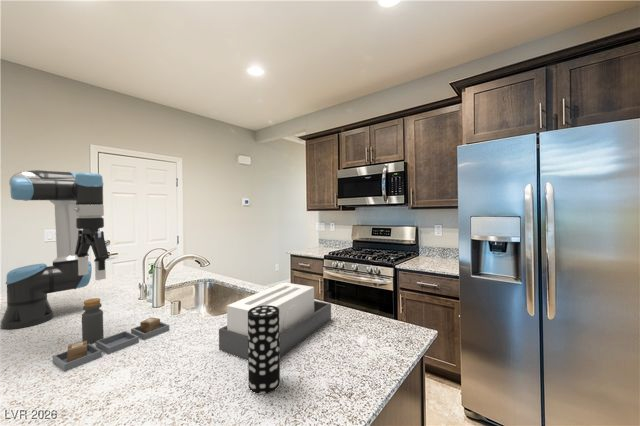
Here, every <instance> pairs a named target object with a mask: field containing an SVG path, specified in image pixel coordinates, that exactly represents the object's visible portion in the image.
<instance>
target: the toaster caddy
mask: <svg viewBox="0 0 640 426" xmlns="http://www.w3.org/2000/svg"><path fill="white" fill-rule="evenodd" d="M331 321H332V303H330V302H329V303H328V302H323V301H317V300H314V313H313V314H311V315H310V316H308V317H306V318H305V319H303V320H302V321H300V322H298V323H297V324H295V325H294V326H292V327H290V328H289V329H287V330H286V331H284V332H282V333H281V334H280V359H282V358H283V357H284V356H286V354H288V353H289V352H290V351H292V350H293V349H295V348H296V347H297V346H298V345H301V343H303V342H304V341H305V340H307V339H308V338H309V337H310V336H312V335H313V334H315V333H316V332H318V331H319V330H320V329H322V328H323V327H324V326H325V325H327V324H328V323H330V322H331ZM218 350H219V351H221V350H222V352H224V351H225V352H224V353H226V352H227V353H226V354H229V353H230V354H229V355H231V354H232V355H231V356H234V355H235V357H237V356H238V357H237V358H239V357H240V358H239V359H242V358H243V359H242V360H244V359H246V360H245V361H247V360H248V337H247V336H244V335H241V334H238V333H235V332H232V331H229V330H227V325H225V326H223V327H221V328H219V329H218Z"/></svg>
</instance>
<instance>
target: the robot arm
mask: <svg viewBox="0 0 640 426" xmlns="http://www.w3.org/2000/svg"><path fill="white" fill-rule="evenodd" d="M103 181H104V179H103V176H102V174H100V173H94V172H93V173H92V172H72V171H55V170H42V169H41V170H40V169H38V170H37V169H35V170H33V169H31V170H26V171H25V170H24V171H20V172H17V173H15V174H13V175H12V176H11V177H10V179H9V188H10V189H9V191H10V198H11V199H12V200H13V201H24V202H25V201H49V202H51V204H53V205H54V218H55V219H54V222H55V223H54V224H55V244H56V245H55V246H56V258H55V259H54V260H52V265H50V266H47V264H46V263H35V264H34V263H33V264H29V265H24V266H21V267H20V266H19V267H17V268H13V269H11V270H10V271H8V272H7V274H6V278H5V279H6V281H5V285H6V309H5V312H4V314H3V316H2V319H1V321H0V326H1V329H3V330H15V329H16V330H17V329H22V328H23V329H24V328H28V327H32V326H36V325H39V324H42V323H45V322H48V321H50V320H51V319H53V318H54V310H53V309H52V306H51V305H50V302H49V301H48V294H52V293H58V292H63V291H69V290H76V289H80V288H84V287H87V286H89V283H90V281H91V278H92V270H93V269H92V268H93V267H92V262H91V261H89V256H90V254H89V249H90V248H91V250H92V252H93V255H94V257H95V259H93V260H94V261H93V262H94V277H95V279H94V280H95V281H100V280H106V279H107V278H106V277H107V276H106V275H107V274H106V271H107V270H106V260H107V259H109V258H110V257H109V256H110V255H109V251H108V248H107V243H106V240H105V235H104V234H105V233H104V231H99V229H103V228H104V227H105V221H104V220H105V218H103V216H104V215H105V214H104V213H105V212H104V211H105V209H104V207H105V205H104V182H103Z"/></svg>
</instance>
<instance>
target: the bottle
mask: <svg viewBox="0 0 640 426" xmlns="http://www.w3.org/2000/svg"><path fill="white" fill-rule="evenodd" d="M83 305H84V306H82V310H83V311H84V312H83V313H81V331H82V332H81V337H82V338H81V339H82V341H81V342H83V341H87V344H91V345H94V344H96V341H98V340H100V339H103V338H104V312H103V309H101V307H102V303H101V298H100V297H95V298H90V299H85V300H84V301H83Z"/></svg>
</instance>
